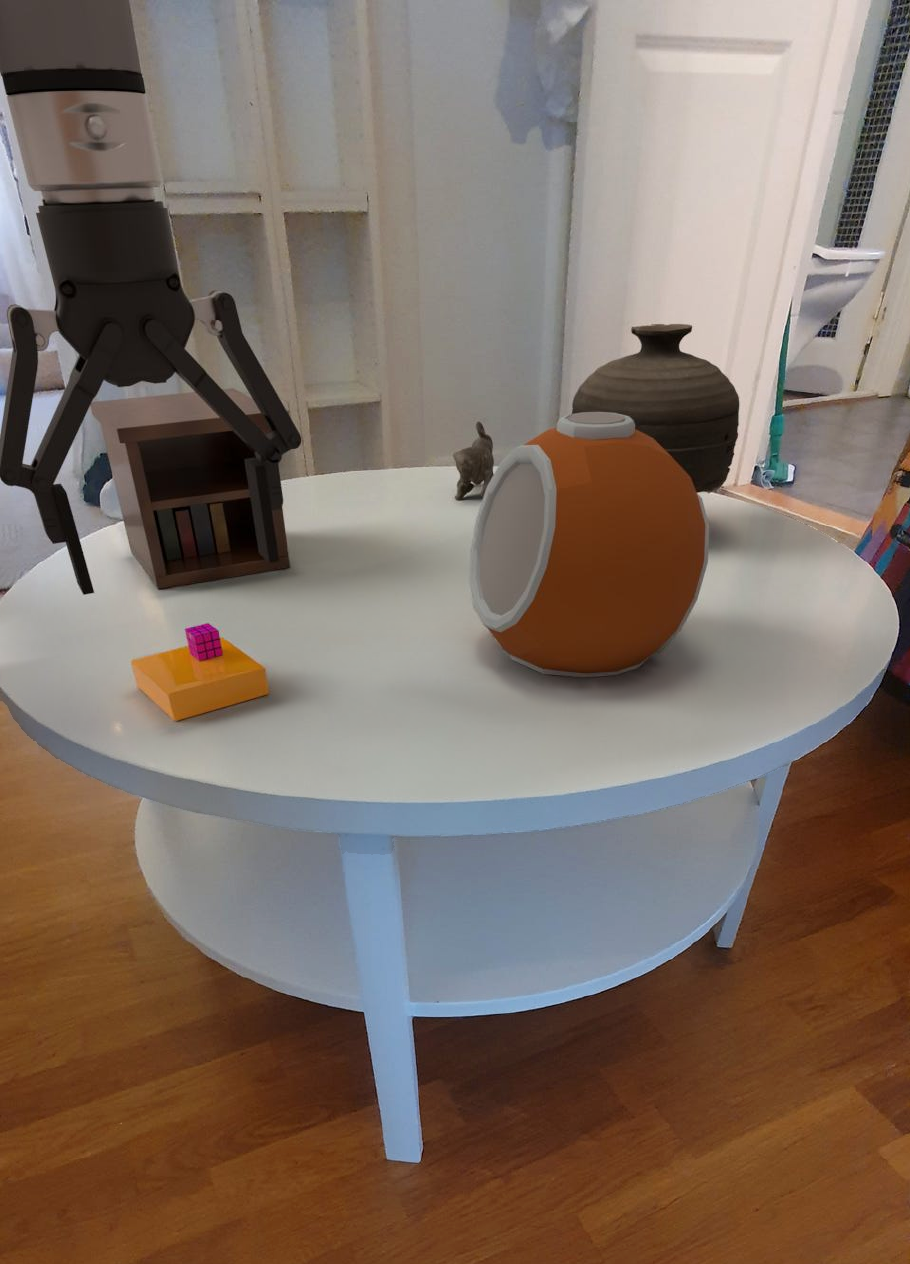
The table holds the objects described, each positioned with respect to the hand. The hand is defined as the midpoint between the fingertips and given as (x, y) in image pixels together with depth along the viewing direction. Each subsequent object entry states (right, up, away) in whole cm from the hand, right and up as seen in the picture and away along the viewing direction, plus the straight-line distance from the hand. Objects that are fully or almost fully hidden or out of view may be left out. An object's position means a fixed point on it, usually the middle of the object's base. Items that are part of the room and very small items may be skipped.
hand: (180, 573), depth 67 cm
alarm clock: (+31, -2, +11) cm, 33 cm away
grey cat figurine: (+23, +31, +50) cm, 63 cm away
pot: (+41, +20, +36) cm, 59 cm away
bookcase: (-6, +15, +32) cm, 36 cm away
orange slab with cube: (0, -7, +6) cm, 9 cm away
